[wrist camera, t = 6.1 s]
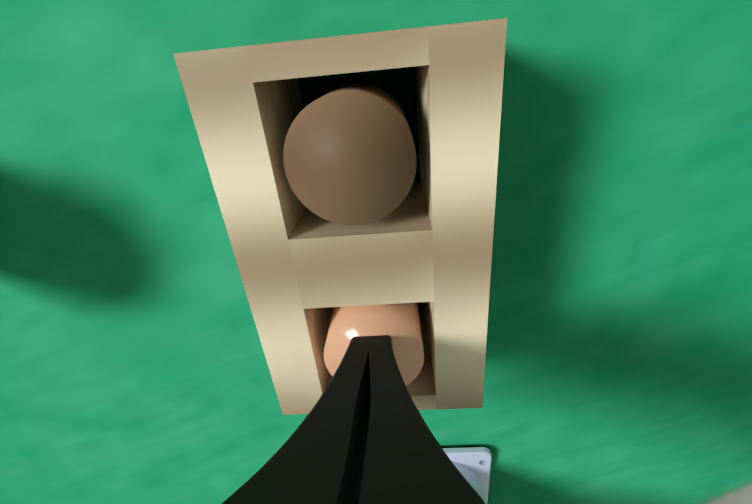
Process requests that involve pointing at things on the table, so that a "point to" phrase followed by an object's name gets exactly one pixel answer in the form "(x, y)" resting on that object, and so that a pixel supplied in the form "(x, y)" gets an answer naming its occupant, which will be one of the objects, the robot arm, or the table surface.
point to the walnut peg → (351, 154)
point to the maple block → (368, 241)
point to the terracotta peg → (378, 321)
